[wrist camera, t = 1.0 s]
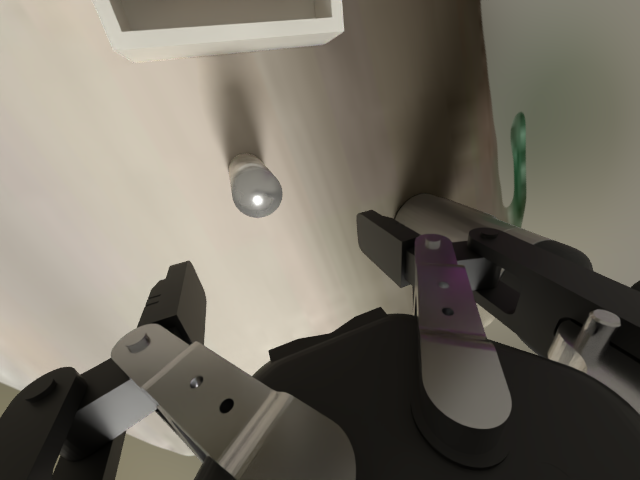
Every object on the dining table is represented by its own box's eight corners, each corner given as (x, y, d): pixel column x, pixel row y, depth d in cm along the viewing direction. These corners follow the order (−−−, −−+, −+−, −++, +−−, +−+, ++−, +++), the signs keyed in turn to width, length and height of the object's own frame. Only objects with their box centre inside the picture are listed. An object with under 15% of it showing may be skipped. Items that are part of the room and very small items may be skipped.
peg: (260, 150, 29) (276, 164, 20) (268, 184, 31) (286, 211, 22) (223, 157, 28) (225, 175, 19) (234, 192, 30) (240, 222, 21)
